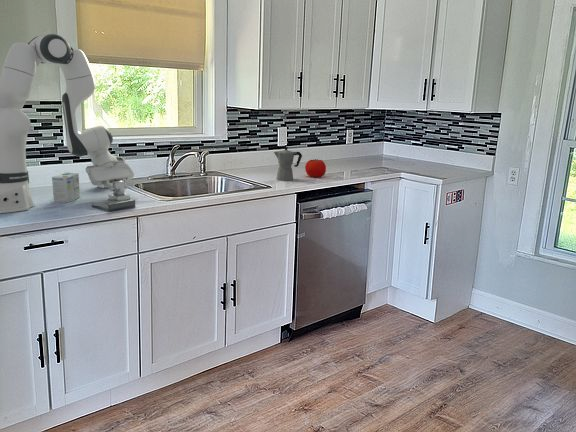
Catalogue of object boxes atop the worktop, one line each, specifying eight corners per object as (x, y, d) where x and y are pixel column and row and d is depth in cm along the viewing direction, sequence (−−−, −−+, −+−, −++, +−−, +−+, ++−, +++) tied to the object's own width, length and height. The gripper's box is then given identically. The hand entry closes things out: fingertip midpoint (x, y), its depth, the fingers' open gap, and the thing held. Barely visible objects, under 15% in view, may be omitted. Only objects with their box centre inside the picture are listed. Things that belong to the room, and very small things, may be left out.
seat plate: (110, 211, 210) (110, 204, 209) (92, 206, 217) (91, 199, 216) (135, 206, 219) (135, 199, 219) (117, 202, 226) (116, 195, 225)
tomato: (324, 175, 309) (325, 157, 307) (326, 179, 298) (327, 160, 296) (304, 174, 309) (304, 157, 306) (305, 178, 298) (306, 160, 295)
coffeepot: (272, 180, 288) (273, 147, 284) (273, 177, 297) (274, 145, 293) (300, 181, 287) (302, 148, 283) (301, 178, 296) (302, 146, 292)
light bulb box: (65, 196, 232) (64, 172, 230) (80, 197, 232) (79, 173, 229) (53, 201, 222) (51, 176, 219) (68, 202, 221) (66, 177, 219)
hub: (117, 201, 227) (116, 182, 225) (108, 199, 231) (107, 180, 229) (130, 199, 232) (129, 180, 230) (120, 196, 236) (120, 178, 234)
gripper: (86, 162, 223) (101, 188, 220) (127, 157, 239) (141, 182, 236) (80, 171, 227) (95, 197, 224) (121, 166, 243) (135, 190, 240)
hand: (119, 189), depth 230 cm, fingers closed on hub, 5 cm apart
